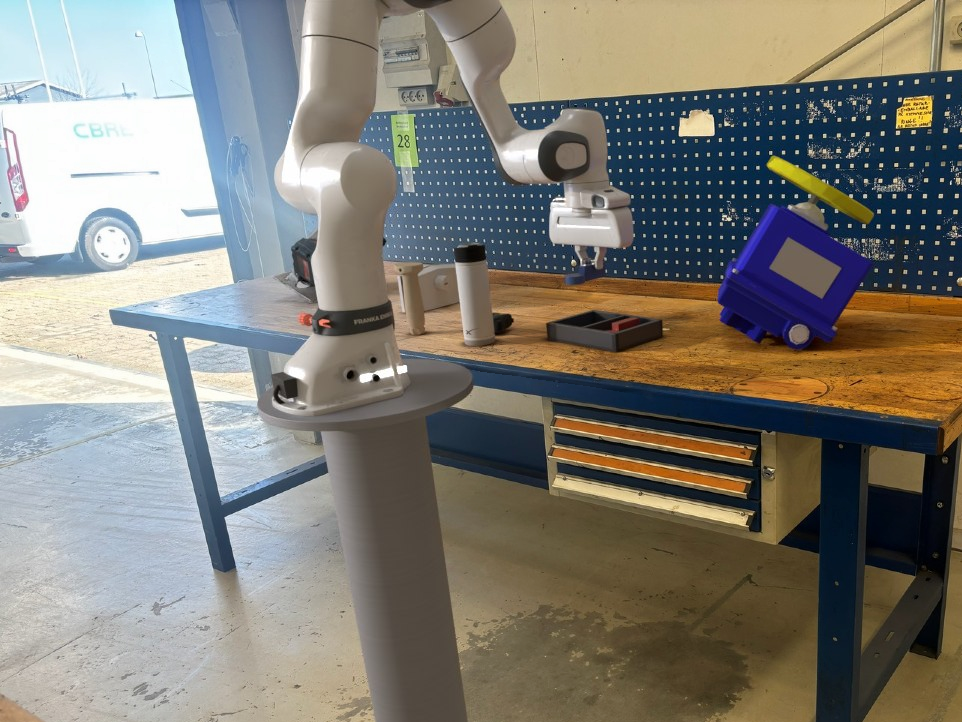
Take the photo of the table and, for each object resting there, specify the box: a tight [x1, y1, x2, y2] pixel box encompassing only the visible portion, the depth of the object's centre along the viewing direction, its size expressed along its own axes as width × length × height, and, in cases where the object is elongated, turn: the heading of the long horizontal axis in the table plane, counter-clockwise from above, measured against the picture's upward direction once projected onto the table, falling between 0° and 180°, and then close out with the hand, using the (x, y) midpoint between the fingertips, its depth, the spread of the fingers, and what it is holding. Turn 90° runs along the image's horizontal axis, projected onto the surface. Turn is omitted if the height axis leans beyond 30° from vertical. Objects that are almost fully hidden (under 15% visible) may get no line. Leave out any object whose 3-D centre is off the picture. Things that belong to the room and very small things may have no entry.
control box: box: [717, 155, 875, 351], centre depth 162 cm, size 26×27×30 cm
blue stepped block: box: [564, 261, 607, 286], centre depth 170 cm, size 10×4×3 cm, turn 136°
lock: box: [396, 263, 460, 314], centre depth 211 cm, size 19×9×10 cm, turn 142°
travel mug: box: [453, 244, 496, 347], centre depth 171 cm, size 6×7×20 cm
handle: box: [393, 261, 426, 336], centre depth 183 cm, size 5×6×15 cm
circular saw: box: [272, 227, 387, 303], centre depth 233 cm, size 21×36×25 cm
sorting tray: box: [545, 309, 664, 353], centre depth 171 cm, size 14×19×4 cm
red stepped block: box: [607, 317, 639, 333], centre depth 168 cm, size 10×4×3 cm, turn 136°
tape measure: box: [492, 312, 515, 334], centre depth 182 cm, size 7×7×4 cm
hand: (592, 268), depth 171 cm, fingers closed on blue stepped block, 2 cm apart
